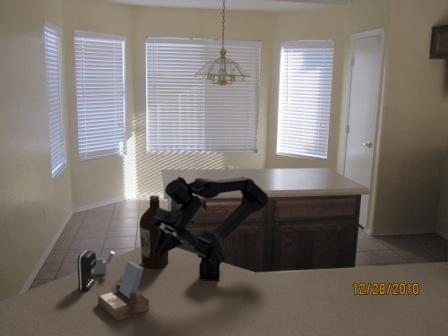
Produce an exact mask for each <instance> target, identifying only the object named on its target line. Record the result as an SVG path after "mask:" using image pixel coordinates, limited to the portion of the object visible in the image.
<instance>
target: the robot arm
mask: <svg viewBox="0 0 448 336" xmlns="http://www.w3.org/2000/svg"><path fill="white" fill-rule="evenodd" d="M238 191H240V194H241V195H242V197H241V199H240V204H239V205H238V206H237V207H236V208H235V209H234V210H233V211H232V212H231V213H230V214H229V215H228V216H227V217H226V218H225V219H224V220H223V221H222V222H221V223H220V224H219V225H218V226H217V227H216V228H215V229H214V230H213V231H208V230H204V231H203V232H202V233H201V234H200V235H199V236H195V235H194V234H193V233H192V232H191V231H189V230H187V228H188V227H189V225H194V223H195V221H194V218H195V217H196V216H197V214H198V212H199V211H200V210H201V209H203V210H205V211H206V210H207V209H208V208H207V207H208V206H207V200H211V199H213V198H216V197H218V196H219V195H220V194H223V193H230V192H238ZM164 192H165V194H166V195H167V196H168V197H169V198H171V199H172V200H173V201H174V202H175V204H177V205H179V207H178V208H173V209H171V210H169V209H165V208H161V207H160V208H158V210H157V213H156V216H154V217H153V218H152V219H151V220H150V223H152V224H153V225H154V226H155V227H156V228H157V229H158V233H159V235H158V239H157V243H156V246H155V249H154V253H156V254H157V253H158V255H159V256H161V255H163V254H165V253H166V252H168V253H169V252H170V251H171V250H173V249H176V248H177V247H179V246H184V243H183V242H184V241H185V242H187V243H186V244H187V245H188V246H189V247H191V248H193V249H194V252H195V254H196V256H197V257H198V258H200V259H201V260H200V262H199V266H198V268H199V269H198V275H199V280H201V281H202V280H203V281H217V282H219V281H220V278H221V273H222V272H221V264H222V263H224V262H225V260H226V255H225V253H223V252H222V250H223V247H224V244H225V243H224V242H225V241H226V240H227V239H228V238H229V237H230V236H231V234H233V232H235V231H236V230H237V229H238V227H240V226H241V224H243V222H245V221H246V220H247V218H248V217H249V216H250V215H252V214H255V213H258V212H260V211H261V210H263V209H264V208H265V207H266V206H267V205H268V203H269V196H268V194H267V192H264V189H262V188H261V187H259V186H258V185H257V184H256V183H255V182H254V180H253V179H252V178H249V177H245V176H240V177H236V178H225V179H224V178H223V179H210V178H203V177H197V178H195V179H194V181H191V182H189V183H188V182H187V181H186V180H185V178H184V177H180V176H178V177H177V178H176V179H173V180H172V181H170V182H169V183H167V184H166V186H165V189H164ZM201 198H203V199H201ZM204 199H206V200H204Z"/></svg>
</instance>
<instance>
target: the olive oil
mask: <svg viewBox="0 0 448 336" xmlns="http://www.w3.org/2000/svg"><path fill="white" fill-rule="evenodd" d="M158 208H161V207H160V196H159V195H150V196H149V207H148V208H147V209H146V210H145V212H144V213H142V215H141V217H140V220H139V224H138V225H139V237H140V249H141V250H140V252H141V265H142V266H143V267H144V268H147V269H151V270H152V269H153V270H155V269H162V268H164V267H166V266H168V265H169V251H168V252H166V253H165V254H163V255H161V256H159V255H158V253H157V254H156V253H154V249H155V246H156V243H157V239H158V235H159V233H158V229H157V228H156V227H155V226H154V225H153V224H152V223H150V220H151V219H152V218H153V217H154V216H156V213H157V210H158Z"/></svg>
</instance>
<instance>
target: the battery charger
mask: <svg viewBox="0 0 448 336" xmlns="http://www.w3.org/2000/svg"><path fill="white" fill-rule="evenodd" d="M96 254H97V253H96V252H95V251H93V250H87V249H86V250H84V251H82V252H81V253H80V254H79V255H78V257H77V259H76V260H77V262H76V263H77V277H78V278H77V279H78V280H77V281H78V290H79V291H88V290H90V289H91V288H92V286H94V284H95V282H96V281H95V279H94V277H93V274H92V270H94V267H95V266H96V259H97V257H96V256H97V255H96Z"/></svg>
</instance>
